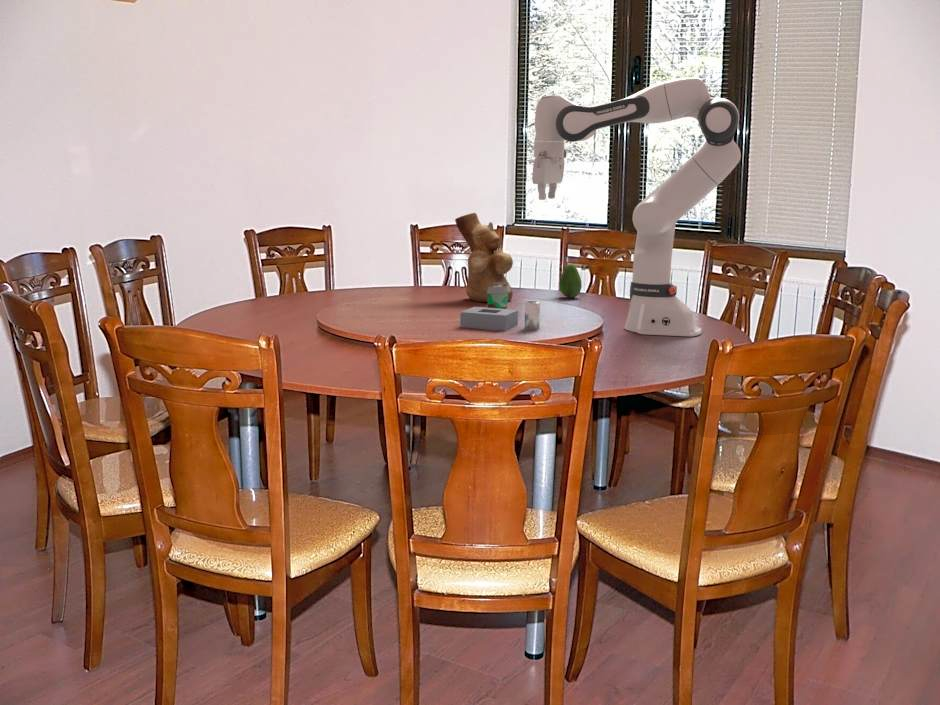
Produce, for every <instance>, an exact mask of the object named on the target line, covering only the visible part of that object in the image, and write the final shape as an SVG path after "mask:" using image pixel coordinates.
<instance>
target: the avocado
mask: <svg viewBox="0 0 940 705" xmlns="http://www.w3.org/2000/svg"><path fill="white" fill-rule="evenodd" d="M558 282H559V284H558V286H559V290H560V292H561V294H562V295H563V296H564V297H566V298H568V299H574V298H576V297H577V296H578V295H579V294H580V292H581V289H582V279H581V275H580V273H579V270H578V269H577V266H576V265H574V264H568V265H566V266H565V267H564V269H563V270H562V273H561V275H560V278H559V281H558Z"/></svg>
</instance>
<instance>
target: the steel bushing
mask: <svg viewBox="0 0 940 705" xmlns="http://www.w3.org/2000/svg"><path fill="white" fill-rule="evenodd" d="M540 320H541V301H537V300H528V301H527V300H526V301H525V302H524V328H523V329H524V330H526V331H538V330H537V329H539V330H540V326H541V325H540V324H541V323H540Z"/></svg>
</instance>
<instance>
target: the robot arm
mask: <svg viewBox="0 0 940 705" xmlns="http://www.w3.org/2000/svg"><path fill="white" fill-rule="evenodd" d="M534 116H535V117H534V129H535V135H534V139H533V140H534V141H533V158H534V160H533V164H532V177H531V181H532V184H534V185H537V191H538V200H540V201H546V199H547V198H548V199H549V200H550V199H551V200H553V199H555V198H556V191H557V187H558V184H561V183H562V182H563V178H564V174H565V173H564V172H565V159H566V158H567V150H566V149H565V141H567V142H570V143H572V142H573V143H574V142H582V141H586V140H589V139H591V138H592V137H593V136H594V135H595V134H596V131H597V130H598V129H602V128H607V127H611V126H616V125H619V124H624V123H638V124H639V123H641V124H660V123H667V122H671V121H675V120H679V119H683V118H684V119H685V118H694V119H696V120H697V122H698V125H699V128H700V130H701V132H702V134H703V136H704V138H705V142H704V144H703V145H702V146H701V148H700V149H699V150H697V152H695V153H694V154H693V155H692V156H691V157H690V158H689V159H688V160H687V161H686V162H685V163H683V164H682V165H681V166H680V167H678V169H676V171H675V172H673V174H672V175H670V176H669V177H668V178H667V179H666V180H665V181H663V182H662V183H661V184H660V185H658V186H657V187H656V188H655V189H654V190H653V191H652V192H650V193H649V194H648V195H647V196H645V198H643V199H642V200H641V201H640V202H639V203H637V205H636V206H635V207H634V209H633V212H632V223H633V226H634V229H636V232H637V233H636V240H635V246H634V247H635V248H634V252H633V259H632V260H633V261H632V278H631V279H632V281H631V282H630V286H629V301H630V304H629V309H628V315H627V319H626V321H625V325H624V330H626V331H630V332H633V333H636V334H639V335H648V336H649V335H650V336H669V337H670V336H672V337H673V336H675V337H696V336H699V335H701V334H702V327H699V326H695V324H696V323H695V316H694V313H693V310H692V309H691V308H690V307H689V306H687V305H686V304H685V303H684V301H681V299H679V298H678V297H677V290H678V288H677V285H674V284H673V283H671V273H672V272H671V271H672V256H673V248H674V241H675V233H676V232H675V230H676V222H678V221H679V220H681V218H682V217H684V216H685V215H686V214H687V213H688V212H689V211H691V210H692V209H693V208H694V207H696V205H698V204H699V203H700V202H701V201H702V200H703V199H704V198H706V197H707V196H708V195H709V194H710V193H712V191H713V190H714V189H716V187H717V186H718V185H720V184H721V183H722V182H723V181H725V179H726V178H727V177H728V176H729V175H730V174H731V173H732V171H733V170H734V169H735V168H736V166H737V165H738V164H739V163H740V161H741V157H742V155H741V154H742V153H741V150H740V147H739V145H738V144H737V143H736V142H735V140H734V136H735V133H736V131H737V128H738V125H739V123H740V122H739V121H740V113H739V110H738V108H737V106H736V104H734V103H733V102H732V101H731V100H729V99H726V98H721V97H719V96H713V95H711V94H710V93H709V89H708V87H707V85H706V83H705V82H704V81H703V79H701V78H700V77H697V76H696V77H694V76H692V77H682V78H676V79H669V80H665V81H662V82H659V83H655V84H653V85H650V86H648V87H646V88H643V89H642V90H639V91H637V92H635V93H633V94H630V95H629V96H627V97H625V98H622V99H618V100H615V101H611V102H607V103H603V104H598V105H595V106H582V105H579V104H576V103H574V102H572V101H570V100H569V99H567V98H566V97H565V96H564V95H563V94H553V95H552V94H551V95H546V96H543V97H541V98H540V99H539V100H538V101H537V103H536V108H535V114H534ZM547 185H548V187H549V188H548V193H546V188H547Z"/></svg>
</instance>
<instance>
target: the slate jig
mask: <svg viewBox="0 0 940 705" xmlns="http://www.w3.org/2000/svg"><path fill="white" fill-rule="evenodd" d="M459 316H460V322H459V323H460V324H459V326H460V328H466V329H467V328H468V329H476V330H477V329H480V330H491V331H503V332H506V331H508V330H510V329H512V328H514V327H516V326H518V321H519V310H518V309H508V308H507V309H498V308H488V307H481V306H473V307H470V308H468V309H466V310H462V311H460V315H459Z"/></svg>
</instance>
